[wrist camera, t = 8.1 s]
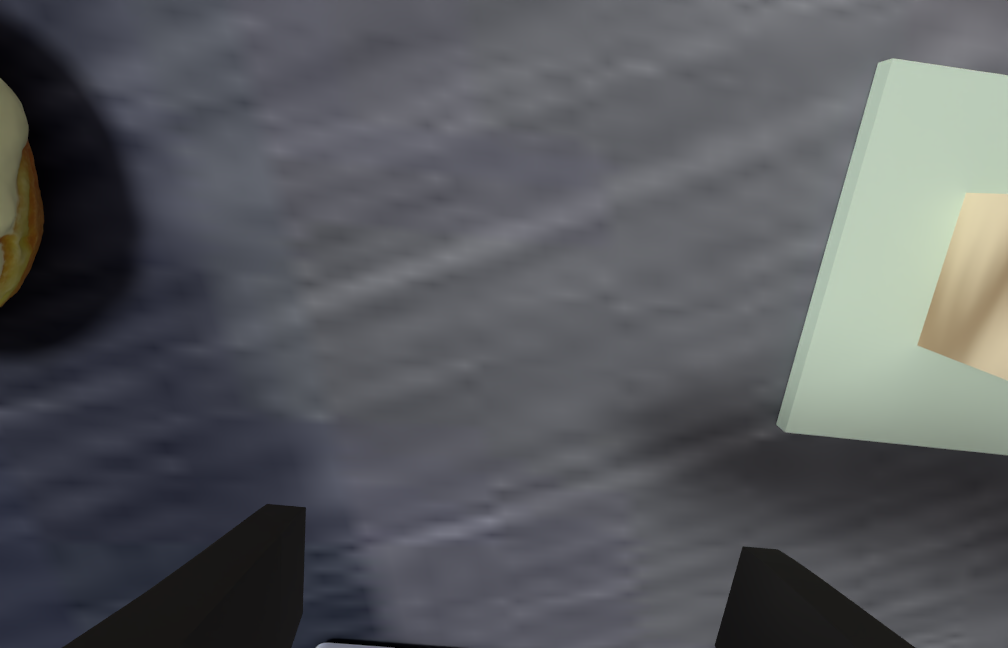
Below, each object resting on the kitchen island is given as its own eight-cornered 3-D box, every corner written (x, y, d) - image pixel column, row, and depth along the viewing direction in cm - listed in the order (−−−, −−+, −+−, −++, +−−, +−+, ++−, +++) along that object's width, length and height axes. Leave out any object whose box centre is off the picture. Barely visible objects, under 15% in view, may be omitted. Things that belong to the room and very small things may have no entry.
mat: (1084, 456, 20) (1103, 464, 19) (776, 424, 19) (785, 432, 18) (1240, 116, 17) (1267, 114, 16) (878, 62, 16) (892, 58, 15)
